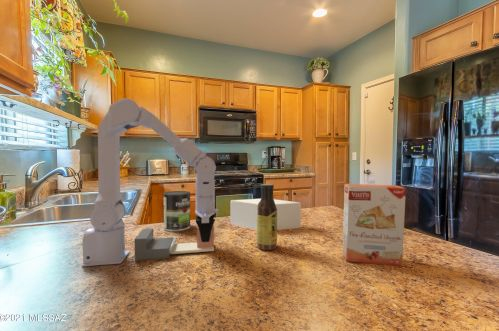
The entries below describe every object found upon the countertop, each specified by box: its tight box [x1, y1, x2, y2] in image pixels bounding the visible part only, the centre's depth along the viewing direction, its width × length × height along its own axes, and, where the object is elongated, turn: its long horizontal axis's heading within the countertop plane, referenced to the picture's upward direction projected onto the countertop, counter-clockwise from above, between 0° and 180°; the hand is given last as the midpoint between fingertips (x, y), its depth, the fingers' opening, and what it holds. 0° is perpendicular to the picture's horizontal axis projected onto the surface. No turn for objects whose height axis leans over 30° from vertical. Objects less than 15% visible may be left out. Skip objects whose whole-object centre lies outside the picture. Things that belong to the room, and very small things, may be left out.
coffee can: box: [162, 190, 191, 233], centre depth 93 cm, size 10×10×14 cm
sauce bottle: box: [256, 183, 278, 251], centre depth 73 cm, size 6×6×20 cm
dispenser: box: [133, 227, 177, 262], centre depth 69 cm, size 10×9×6 cm
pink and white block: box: [170, 224, 215, 255], centre depth 71 cm, size 16×6×7 cm, turn 101°
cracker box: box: [342, 183, 407, 267], centre depth 64 cm, size 14×6×21 cm, turn 79°
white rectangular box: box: [229, 198, 302, 231], centre depth 96 cm, size 14×29×10 cm, turn 81°
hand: (205, 239), depth 72 cm, fingers closed on pink and white block, 2 cm apart
